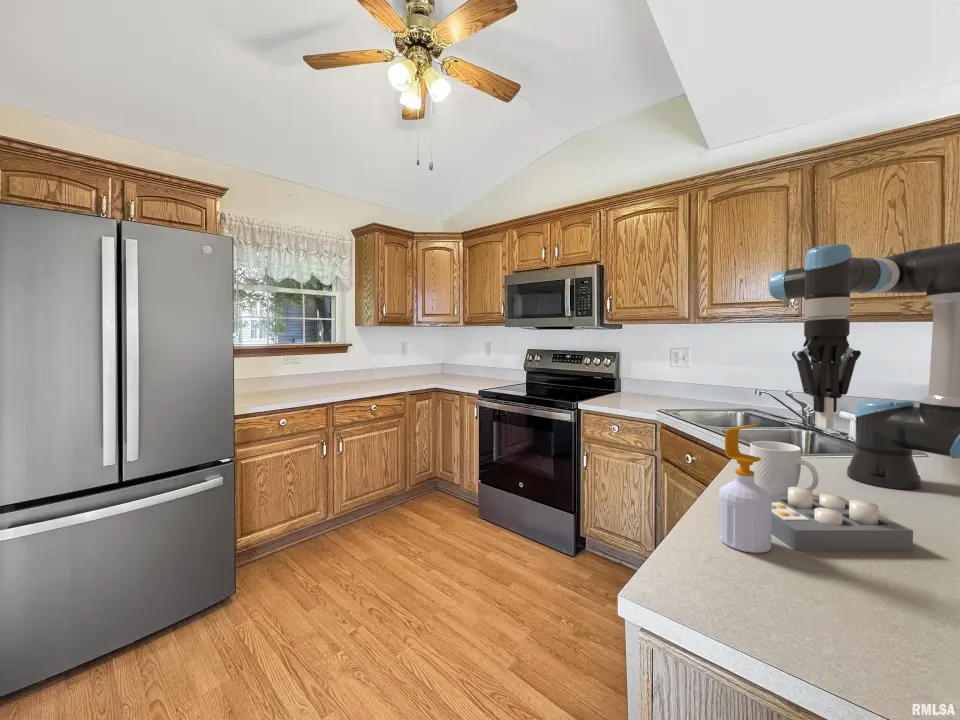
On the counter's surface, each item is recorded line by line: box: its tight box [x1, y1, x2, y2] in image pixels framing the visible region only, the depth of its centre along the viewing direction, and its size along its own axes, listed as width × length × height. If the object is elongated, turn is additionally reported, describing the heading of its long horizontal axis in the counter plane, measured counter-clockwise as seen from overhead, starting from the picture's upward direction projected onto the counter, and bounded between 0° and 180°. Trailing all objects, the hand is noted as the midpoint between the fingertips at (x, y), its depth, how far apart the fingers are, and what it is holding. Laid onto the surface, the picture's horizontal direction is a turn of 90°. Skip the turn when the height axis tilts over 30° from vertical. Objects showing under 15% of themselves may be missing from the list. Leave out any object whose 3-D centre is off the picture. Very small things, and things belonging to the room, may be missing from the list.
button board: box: [770, 495, 914, 552], centre depth 89 cm, size 22×18×4 cm
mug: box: [749, 440, 819, 496], centre depth 108 cm, size 15×11×13 cm
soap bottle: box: [718, 423, 772, 554], centre depth 84 cm, size 9×9×25 cm
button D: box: [814, 508, 842, 525], centre depth 85 cm, size 4×4×4 cm
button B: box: [848, 499, 879, 525], centre depth 85 cm, size 4×4×4 cm
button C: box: [788, 486, 814, 509], centre depth 93 cm, size 4×4×4 cm
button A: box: [818, 493, 846, 509], centre depth 93 cm, size 4×4×4 cm
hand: (824, 427), depth 90 cm, fingers closed
